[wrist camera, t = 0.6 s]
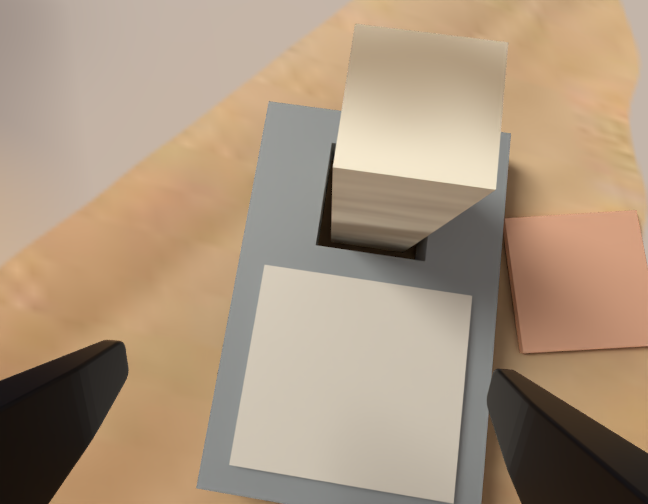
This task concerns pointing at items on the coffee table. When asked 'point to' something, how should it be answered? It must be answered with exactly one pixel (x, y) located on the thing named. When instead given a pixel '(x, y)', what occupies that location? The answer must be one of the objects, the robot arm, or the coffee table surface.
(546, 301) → the pad
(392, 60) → the block
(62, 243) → the coffee table surface
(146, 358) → the coffee table surface
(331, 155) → the puzzle board
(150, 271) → the coffee table surface
